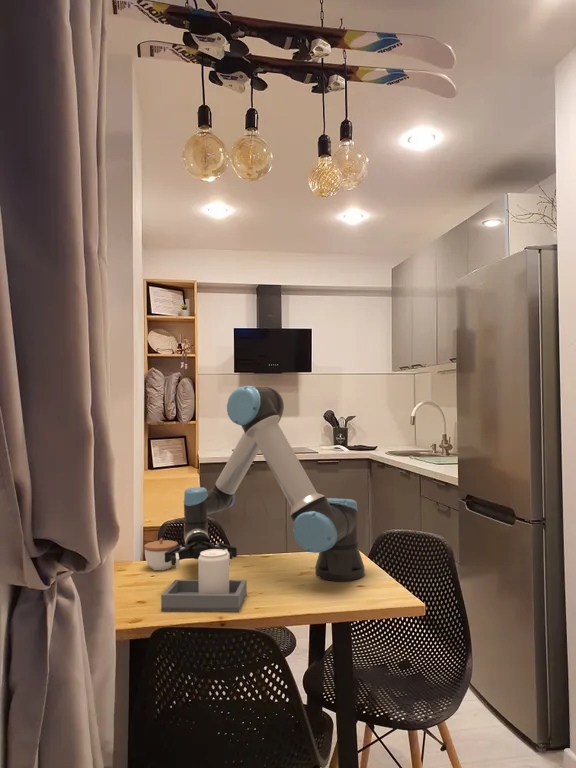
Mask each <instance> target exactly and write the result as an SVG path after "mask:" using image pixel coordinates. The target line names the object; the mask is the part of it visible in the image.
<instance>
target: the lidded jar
mask: <svg viewBox="0 0 576 768" xmlns="http://www.w3.org/2000/svg"><path fill="white" fill-rule="evenodd" d="M176 545H179V542H177V541H176V540H175V541H174V540H168V539H167V540H166V539H165V540H164V538H159V540H154V541H150V542H147V543H146V544H144V546H143V547H144V548H143V549H144V557H145V558H144V559H145V561H146V564H147V565H148V566H149V567H150V568H151V570H152V569H153V571H156V570H162V571H167V570H170V569H171V568H172V566H173V565H171V561H169V562H165V553H166V552H167V551H169V550H171V549H173V548H174V547H176ZM169 568H170V569H169ZM166 569H167V570H166Z"/></svg>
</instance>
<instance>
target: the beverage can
mask: <svg viewBox="0 0 576 768" xmlns="http://www.w3.org/2000/svg"><path fill="white" fill-rule="evenodd" d="M197 560H198V562H197V563H198V568H197V569H198V580H199V594H229V580H230V565H229V556H228V554H227V551H226V550H222V549H210V550H205V551H202V552H201V553H200V556H199V558H198V559H197Z"/></svg>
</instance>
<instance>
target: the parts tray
mask: <svg viewBox="0 0 576 768" xmlns="http://www.w3.org/2000/svg"><path fill="white" fill-rule="evenodd" d="M247 584H248V583H247V579H229V594H199V579H175V580H174V581H173V582H172V583H171V584H170V585H169V586H168V587H167V588H166V589H165V590H164V591H163V592H162V594H161V596H160V599H161V600H160V606H161V608H160V610H161V612H195V613H196V612H197V613H198V612H199V613H200V612H205V613H206V612H211V613H212V612H213V611H214V612H213V613H216V612H218V613H221V612H222V613H223V612H224V613H225V612H227V613H239V612H240V611H241V608H242V607H243V604H244V602H243V601H245V600H246V597H247V595H248V594H247V593H248V592H247V591H248V587H247ZM244 599H245V600H244ZM239 610H240V611H239Z"/></svg>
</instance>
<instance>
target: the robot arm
mask: <svg viewBox="0 0 576 768" xmlns="http://www.w3.org/2000/svg"><path fill="white" fill-rule="evenodd" d="M284 406H285V405H284V400H283V398H282V395H281V394H280V393H279V392H278V391H277V390H275V389H274V388H272V387H268V386H263V387H262V386H254V385H245V386H243V385H242V386H240V387H237V388H236V389H234V390H233V391H232V392H231V393H230V395H229V397H228V400H227V403H226V413H227V416H228V418H229V419H230V421H231V422H232V423H234V424H236V425H237V426H241V428H242V430H243V434H242V435H241V437H240V439H239V441H238V442H237V444H236V446H235V448H234V449H233V452H232V453H231V455H230V456H229V458H228V460H227V462H226V464H225V466H224V467H223V469H222V471H221V472H220V475H219V476H218V478H217V480H216V482H215V483H214V485H213V487H212V488H211V490H207V488H206V487H201V486H196V487H195V486H194V487H188V488H186V489H185V490H184V492H183V494H184V496H183V512H184V513H183V515H184V516H183V530H184V531H183V541H184V543H185V544H184V545H185V546H182V545H181V544H178V545H176V547H174V548H173V549H171V550H169V551H167V552H166V553H165V562H169V561H171V565H172V566H175V568H176V570H180V561H181V560H184V559H187V558H188V559H191V558H192V559H195V560H198V558H199V556H200V553H201V552H202V551H205V550H210V549H222V550H226V551H227V554H228V556H229V566H231V560H233V558H236V557H238V555H237V554H238V551H237V550H238V548H237V547H236V546H233V545H228V544H226V543H224V542H222V541H218V542H217V543H216V544H215V543H212V541H211V539H210V536H209V533H208V531H209V530H208V515H211V514H215V513H218V512H223V511H225V510H228V509H229V508H231V507H232V506H233V505H234V504H235V501H236V495H235V493H236V491H237V490H238V488H239V486H240V485H241V483H242V482H243V481H242V480H244V477H245V476H246V474H247V472H248V471H249V469H250V467H251V465H252V464H253V462H254V461H255V458H256V457H257V456H258V453H259V452H261V454H262V456H263V458H264V459H265V462H266V464H267V466H268V467H269V469H270V471H271V472H272V474H273V476H274V478H275V480H276V481H277V483H278V485H279V487H280V488H281V490H282V493H283V495H284V496H285V498H286V499H287V502H288V503H289V506H290V507H291V509H290V513H289V516H290V519H291V520H292V521H293V525H292V527H293V528H292V534H293V538H294V540H295V542H296V543H297V545H298V546H299V547H300V548H301V549H302V550H304V551H306V552H309V553H313V554H317V553H318V557H317V559H316V562H315V567H314V568H315V569H314V570H315V576H316V577H318V578H320V579H322V580H326V581H330V582H331V581H333V582H347V581H356V580H358V579H359V580H360V579H362V578H363V577H364V576H365V575H366V573H365V571H366V570H365V565H364V562H363V561H364V560H363V558H362V555H361V553H360V550H359V519H358V518H359V517H358V514H359V510H358V503H357V501H356V500H355V499H350V498H338V497H337V498H335V497H333V498H332V497H329V498H328V497H326V496H325V494H321V493H318V492H317V490H316V489H315V487H314V485H313V483H312V481H311V480H310V478H309V476H308V474H307V473H306V471H305V469H304V467H303V466H302V464H301V462H300V460H299V459H298V457H297V455H296V453H295V452H294V450H293V448H292V446H291V444H290V443H289V441H288V439H287V438H286V436H285V433H284V432H283V430H282V428H281V426H280V425H279V423H280V422H281V419H282V416H283V413H284V408H285V407H284Z"/></svg>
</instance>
